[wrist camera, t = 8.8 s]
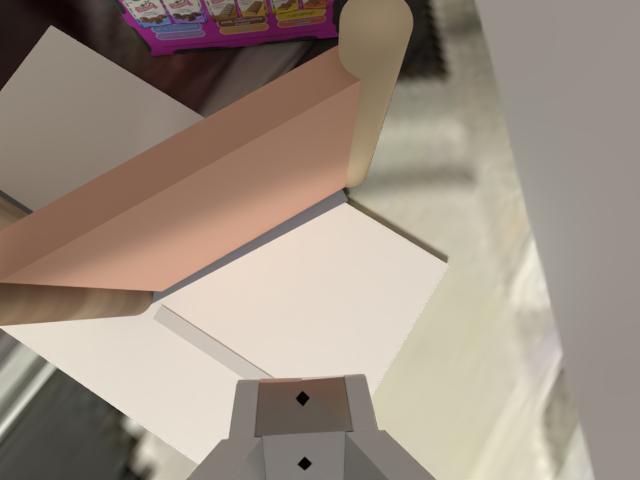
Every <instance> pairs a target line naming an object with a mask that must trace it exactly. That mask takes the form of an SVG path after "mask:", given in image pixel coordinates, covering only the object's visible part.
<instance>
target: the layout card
mask: <svg viewBox="0 0 640 480" xmlns="http://www.w3.org/2000/svg"><path fill="white" fill-rule="evenodd" d="M202 119H204V117H203V116H201V115H199V114H198V113H196V112H194V111H193V110H191V109H189V108H188V107H186V106H184V105H183V104H181V103H179V102H178V101H176V100H174V99H173V98H171V97H169V96H168V95H166V94H164V93H163V92H161V91H160V90H158V89H156V88H155V87H153V86H151V85H150V84H148V83H146V82H145V81H143V80H141V79H140V78H138V77H136V76H135V75H133V74H131V73H130V72H128V71H126V70H125V69H123V68H121V67H120V66H118V65H116V64H115V63H113V62H111V61H110V60H108V59H106V58H105V57H103V56H101V55H100V54H98V53H96V52H95V51H93V50H92V49H90V48H88V47H87V46H85V45H83V44H82V43H80V42H78V41H77V40H75V39H73V38H72V37H70V36H68V35H67V34H65V33H63V32H62V31H60V30H58V29H57V28H55V27H53V26H52V25H51V26H50V27H49V28H48V30H47V31H46V32H45V34H44V35H43V36H42V37H41V39H40V40H39V41H38V43H37V44H36V45H35V47H34V48H33V49H32V51H31V52H30V53H29V55H28V56H27V57H26V58H25V60H24V61H23V62H22V64H21V65H20V66H19V68H18V69H17V70H16V72H15V73H14V74H13V76H12V77H11V78H10V79H9V81H8V82H7V83H6V85H5V86H4V87H3V89H2V90H1V91H0V196H1V197H2V198H4V199H5V200H7V201H8V202H10V203H12V204H13V205H15V206H16V207H18V208H19V209H21V210H22V211H24V212H25V213H27V214H28V215H30V214H31V213H33V212H35V211H37V210H39V209H40V208H42V207H44V206H46V205H48V204H50V203H51V202H53V201H55V200H57V199H59V198H60V197H62V196H64V195H66V194H68V193H70V192H71V191H73V190H75V189H77V188H79V187H80V186H82V185H84V184H86V183H88V182H90V181H91V180H93V179H95V178H97V177H99V176H100V175H102V174H104V173H106V172H108V171H110V170H111V169H113V168H115V167H117V166H119V165H121V164H122V163H124V162H126V161H128V160H130V159H131V158H133V157H135V156H137V155H139V154H141V153H142V152H144V151H146V150H148V149H150V148H151V147H153V146H155V145H157V144H159V143H161V142H162V141H164V140H166V139H168V138H170V137H171V136H173V135H175V134H177V133H179V132H181V131H182V130H184V129H186V128H188V127H190V126H191V125H193V124H195V123H197V122H199V121H201V120H202ZM347 201H348V199H347V197H346V195H345V194H344V192H343V190H342V189H341V190H339V191H337V192H335V193H334V194H332V195H330V196H328V197H327V198H325V199H323V200H321V201H320V202H318V203H316V204H314V205H313V206H311V207H309V208H307V209H306V210H304V211H302V212H300V213H299V214H297V215H295V216H293V217H292V218H290V219H288V220H286V221H285V222H283V223H281V224H279V225H278V226H276V227H274V228H272V229H271V230H269V231H267V232H265V233H264V234H262V235H260V236H258V237H257V238H255V239H253V240H251V241H250V242H248V243H246V244H244V245H243V246H241V247H239V248H237V249H236V250H234V251H232V252H230V253H229V254H227V255H225V256H223V257H222V258H220V259H218V260H216V261H215V262H213V263H211V264H209V265H208V266H206V267H204V268H202V269H201V270H199V271H197V272H195V273H194V274H192V275H190V276H188V277H187V278H185V279H183V280H181V281H180V282H178V283H176V284H174V285H173V286H171V287H169V288H167V289H166V290H164V291H162V292H161V291H152V292H153V298H152V302H151V304H150V307H149V308H148V309H147V310H146V311H145V312H144V313H142V314H140V315H136V316H125V317H112V318H99V319H86V320H73V321H60V322H47V323H34V324H21V325H8V326H0V328H1V329H3V330H4V331H6V332H7V333H9V334H10V335H12V336H13V337H14V338H16V339H17V340H19V341H20V342H22V343H23V344H25V345H26V346H27V347H29V348H30V349H32V350H33V351H35V352H36V353H38V354H39V355H40V356H42V357H43V358H45V359H46V360H48V361H49V362H51V363H52V364H53V365H55V366H56V367H58V368H59V369H61V370H62V371H64V372H65V373H67V374H68V375H69V376H71V377H72V378H74V379H75V380H77V381H78V382H80V383H81V384H82V385H84V386H85V387H87V388H88V389H90V390H91V391H93V392H94V393H95V394H97V395H98V396H100V397H101V398H103V399H104V400H106V401H107V402H108V403H110V404H111V405H113V406H114V407H116V408H117V409H119V410H120V411H121V412H123V413H124V414H126V415H127V416H129V417H130V418H132V419H133V420H134V421H136V422H137V423H139V424H140V425H142V426H143V427H145V428H146V429H148V430H149V431H150V432H152V433H153V434H155V435H156V436H158V437H159V438H161V439H162V440H163V441H165V442H166V443H168V444H169V445H171V446H172V447H174V448H175V449H176V450H178V451H179V452H181V453H182V454H184V455H185V456H187V457H188V458H189V459H191V460H192V461H194V462H195V463H197V464H198V465H200V463H201V462H202V461H203V460H204V459H205V458H206V457H207V455H208V454H209V453H210V452H211V451H212V450H213V449H214V447H215V446H216V445H217V444H218V443H219V442H220V441H221V440H222V439H228V437H229V431H230V424H231V417H232V410H233V403H234V397H235V390H236V384H237V382H238V380H253V379H273V378H302V377H320V376H337V375H351V374H364V375H365V376H366V378H367V383H368V387H369V392H370V396H371V397H372V396H373V394H374V392H375V391H376V389H377V387H378V385H379V384H380V382H381V380H382V379H383V377H384V375H385V374H386V372H387V370H388V368H389V367H390V365H391V363H392V362H393V360H394V358H395V356H396V355H397V353H398V351H399V350H400V348H401V346H402V345H403V343H404V341H405V339H406V338H407V336H408V334H409V333H410V331H411V329H412V327H413V326H414V324H415V322H416V321H417V319H418V317H419V315H420V314H421V312H422V310H423V309H424V307H425V305H426V304H427V302H428V300H429V298H430V297H431V295H432V293H433V292H434V290H435V288H436V286H437V285H438V283H439V281H440V280H441V278H442V276H443V275H444V273H445V271H446V269H447V268H448V266H449V265H448V264H446V263H445V262H443V261H441V260H440V259H438V258H436V257H435V256H433V255H431V254H430V253H428V252H427V251H425V250H423V249H422V248H420V247H418V246H417V245H415V244H413V243H412V242H410V241H408V240H407V239H405V238H403V237H402V236H400V235H398V234H397V233H395V232H393V231H392V230H390V229H388V228H387V227H385V226H383V225H382V224H380V223H378V222H377V221H375V220H373V219H372V218H370V217H368V216H367V215H365V214H363V213H362V212H360V211H359V210H357V209H355V208H354V207H352V206H350V205H349V204H347V203H345V202H347Z"/></svg>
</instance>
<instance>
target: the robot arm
mask: <svg viewBox="0 0 640 480" xmlns="http://www.w3.org/2000/svg"><path fill="white" fill-rule="evenodd" d="M186 480H436V479H435V478H434V477H433V476H432V475H431V474H430V473H429V472H428V471H427V470H426V469H425V468H424V467H423V466H421V465H420V464H419V463H418V462H417V461H416V460H415V459H414V458H413V457H412V456H411V455H410V454H409V453H408V452H407V451H406V450H405V449H404V448H403V447H402V446H401V445H400V444H399V443H398V442H397V441H396V440H394V439H393V438H392V437H391V436H390V435H389V434H388V433H387V432H386V431H385V430H378V427H377V422H376V418H375V414H374V409H373V405H372V400H371V396H370V392H369V387H368V383H367V378H366V376H365V375H364V374H351V375H337V376H320V377H302V378H273V379H253V380H238V382H237V384H236V390H235V397H234V403H233V410H232V417H231V424H230V431H229V437H228V439H222V440H221V441H220V442H219V443H218V444H217V445H216V446H215V447H214V449H213V450H212V451H211V452H210V453H209V454H208V455H207V457H206V458H205V459H204V460H203V461H202V462H201V463H200V465H199V466H198V467H197V468H196V469H195V470H194V471H193V472H192V474H191V475H190V476H189V477H188V478H187V479H186Z"/></svg>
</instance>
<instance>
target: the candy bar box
mask: <svg viewBox="0 0 640 480" xmlns="http://www.w3.org/2000/svg"><path fill="white" fill-rule="evenodd" d="M112 2H113V3H114V4H115V6H116V7H117V9H118V10H119V11H120V13H121V14H122V16H123V17H124V18H125V20H126V21H127V22H128V24H129V25H130V27H131V28H132V30H133V31H134V32H135V34H136V35H137V37H138V38H139V39H140V41H141V42H142V44H143V45H144V46H145V47H146V49H147V50H148V52H149V53H150V54H151V55H152V56H162V55H171V54H181V53H190V52H199V51H207V50H217V49H226V48H235V47H243V46H252V45H262V44H271V43H281V42H292V41H302V40H312V39H321V38H332V37H339V23H340V15H341V12H342V0H112Z"/></svg>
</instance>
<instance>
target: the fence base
mask: <svg viewBox="0 0 640 480" xmlns="http://www.w3.org/2000/svg"><path fill="white" fill-rule="evenodd" d="M26 216H28V214H27V213H25V212H24V211H22V210H21V209H19V208H18V207H16V206H15V205H13V204H12V203H10V202H8V201H7V200H5V199H4V198H2V197H1V196H0V230H2V229H4V228H6V227H8V226H10V225H11V224H13V223H15V222H17V221H19V220H20V219H22V218H24V217H26ZM152 298H153V292H152V291H144V290H126V289H108V288H91V287H73V286H55V285H37V284H20V283H2V282H0V326H8V325H21V324H34V323H47V322H60V321H73V320H86V319H99V318H112V317H125V316H136V315H140V314H142V313H144V312H145V311H146V310H147V309H148V308H149V307H150V304H151V302H152Z"/></svg>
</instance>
